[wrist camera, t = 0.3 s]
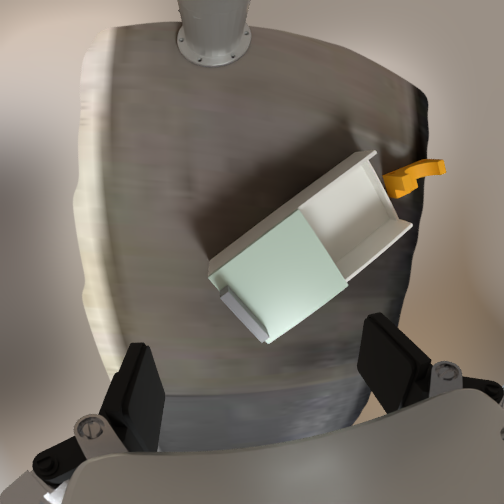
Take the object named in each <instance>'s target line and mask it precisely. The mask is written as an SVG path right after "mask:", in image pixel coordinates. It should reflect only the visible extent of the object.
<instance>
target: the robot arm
mask: <svg viewBox="0 0 504 504" xmlns="http://www.w3.org/2000/svg"><path fill="white" fill-rule="evenodd" d="M178 5H179V10H178V11H179V12H180V14H181V19H182V24H183V25H182V27H181V28H180V30H179V33H178V36H177V44H178V48H179V50H180V52H181V54H182V55H183V56H184V57H185V58H186V59H187V60H188V61H190V62H192V63H194V64H196V65H199V66H203V67H220V66H225V65H228V64H231V63H233V62H234V61H236V60H238V59H239V58H240V57H242V56H243V55H244V54H245V52H246V51H247V49H248V47H249V45H250V41H251V31H250V28H249V26H248V25H247V23H246V17H247V13H248V9H249V5H250V0H178ZM245 34H246V35H245ZM181 41H183V42H181ZM231 57H234V58H231ZM200 60H201V62H198V61H200ZM357 368H358V371H359V373H360V374H361V376H362V377H363V379H364V380H365V382H366V383H367V385H368V386H369V388H370V389H371V391H372V392H373V394H374V395H375V397H376V398H377V400H378V401H379V403H380V404H381V405H382V407H383V408H384V410H385V411H386V413H387V414H386V415H384V416H381V417H378V418H375V419H372V420H369V421H366V422H363V423H360V424H357V425H354V426H350V427H347V428H343V429H340V430H336V431H332V432H329V433H325V434H321V435H316V436H312V437H308V438H303V439H298V440H293V441H288V442H283V443H277V444H271V445H264V446H257V447H249V448H240V449H230V450H217V451H196V452H157V449H158V441H159V434H160V427H161V421H162V414H163V408H164V402H165V392H164V389H163V386H162V383H161V380H160V377H159V374H158V371H157V368H156V365H155V362H154V359H153V356H152V353H151V349H150V347H149V346H146V345H145V343H131V344H130V346H129V348H128V350H127V353H126V355H125V358H124V360H123V362H122V365H121V367H120V370H119V372H117V373H115V375H114V376H113V379H112V381H111V384H110V386H109V389H108V391H107V394H106V396H105V399H104V401H103V404H102V406H101V409H100V412H99V414H98V415H97V414H89V415H86V416H83V417H82V418H80V419H79V420H78V421H77V422H76V424H75V426H74V434H75V436H73V437H71V438H69V439H67V440H65V441H63V442H61V443H59V444H57V445H55V446H53V447H51V448H49V449H47V450H45V451H42V452H41V453H39V454H38V455H37V456H36V457H35V458H34V460H33V466H32V467H33V470H32V471H31V472H29V471H28V470H27V471H26V472H25V473H24V474H22V475H21V476H20V477H19V478H18V479H17V480H16V481H14V482H13V483H12V484H11V485H10V486H9V487H7V488H6V489H5V490H4V491H3V492H2V493H1V496H0V504H504V391H503V388H502V387H501V386H500V385H499V384H498V383H496V382H494V381H489V380H483V379H476V378H469V377H463V376H462V372H461V369H460V368H459V366H457V365H456V364H454V363H452V362H448V361H441V362H438V363H436V364H434V366H433V365H432V364H431V359H430V358H429V357H428V356H427V355H426V354H425V353H424V352H423V351H421V350H420V349H419V348H418V347H417V346H416V345H415V344H414V343H413V342H412V341H411V340H410V339H409V338H408V337H407V336H406V335H405V334H404V333H403V332H402V331H400V330H399V329H398V328H397V327H396V326H395V325H394V324H393V323H392V322H391V321H390V320H389V319H388V318H386V317H385V316H384V315H383V314H382V313H380V312H379V313H375V314H370V315H368V317H367V318H366V319H365V320H364V326H363V333H362V340H361V346H360V352H359V358H358V363H357Z"/></svg>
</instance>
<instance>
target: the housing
mask: <svg viewBox="0 0 504 504" xmlns="http://www.w3.org/2000/svg"><path fill="white" fill-rule="evenodd" d="M375 154H377V152H376V151H375V150H371V151H360V152H354V153H353V154H352V155H350V156H349V157H348V158H346V159H345V160H343V161H342V162H341V163H339V164H338V165H336V166H335V167H334V168H332V169H331V170H330V171H328V172H327V173H325V174H324V175H323V176H321V177H320V178H319V179H317V180H316V181H315V182H313V183H312V184H310V185H309V186H308V187H306V188H305V189H304V190H302V191H301V192H300V193H298V194H297V195H296V196H294V197H293V198H292V199H290V200H289V201H287V202H286V203H285V204H283V205H282V206H281V207H279V208H278V209H277V210H275V211H274V212H273V213H271V214H270V215H269V216H267V217H266V218H265V219H263V220H262V221H261V222H259V223H258V224H257V225H255V226H254V227H253V228H251V229H250V230H249V231H248V232H246V233H245V234H244V235H242V236H241V237H240V238H238V239H237V240H236V241H234V242H233V243H232V244H230V245H229V246H228V247H227V248H225V249H224V250H223V251H221V252H220V253H219V254H217V255H216V256H215V257H214V258H212V259H211V260H210V261H209V271H208V276H209V275H210V274H211V273H213V272H214V271H215V270H217V269H218V268H219V267H221V266H222V265H223V264H225V263H226V262H227V261H229V260H230V259H231V258H232V257H234V256H235V255H236V254H238V253H239V252H240V251H242V250H243V249H244V248H246V247H247V246H248V245H250V244H251V243H252V242H254V241H255V240H256V239H258V238H259V237H260V236H262V235H263V234H264V233H266V232H267V231H268V230H270V229H271V228H272V227H274V226H275V225H276V224H278V223H279V222H280V221H281V220H283V219H284V218H285V217H287V216H288V215H289V214H291V213H292V212H293V211H295V210H296V209H299V210H300V212H301V213H302V214H303V216H304V217H305V219H306V220H307V222H308V223H309V225H310V226H311V228H312V229H313V231H314V232H315V234H316V235H317V237H318V238H319V240H320V241H321V243H322V244H323V246H324V248H325V249H326V251H327V252H328V254H329V255H330V257H331V258H332V260H333V262H334V263H335V265H336V266H337V268H338V270H339V271H340V273H341V274H342V276H343V278H344V279H345V281H346V282H348V281H349V280H350V279H351V278H353V277H354V276H355V275H356V274H358V273H359V272H360V271H361V270H362V269H364V268H365V267H366V266H367V265H368V264H370V263H371V262H372V261H373V260H374V259H376V258H377V257H378V256H379V255H380V254H382V253H383V252H384V251H385V250H386V249H387V248H389V247H390V246H391V245H392V244H393V243H394V242H395V241H397V240H398V239H399V238H400V237H401V236H402V235H403V234H404V233H406V232H407V231H408V230H409V229H410V228H411V227H412V226H413V225H412V223H409V222H406V221H403V220H400V219H399V218H398V216H397V214H396V212H395V210H394V207H393V205H392V203H391V201H390V199H389V197H388V195H387V193H386V191H385V190H384V188H383V186H382V184H381V182H380V180H379V178H378V176H377V175H376V173H375V171H374V169H373V167H372V166H371V164H370V162H369V159H370V158H371V157H373V156H374V155H375Z"/></svg>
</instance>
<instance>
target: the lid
mask: <svg viewBox="0 0 504 504" xmlns="http://www.w3.org/2000/svg"><path fill="white" fill-rule="evenodd" d="M208 278H209V280H210V281H211V282H212V283H213V284H214V285H215V286H216V288H217V289H218V290H219V291H220V299H221V300H222V301H223V302H224V303H225V304H226V305H227V306H228V307H229V308H230V310H231V311H232V312H233V313H234V314H235V315H236V316H237V317H238V318H239V319H240V320H241V321H242V322H243V324H244V325H245V326H246V327H247V328H248V329H249V330H250V331H251V332H252V333H253V334H254V335H255V336H256V337H257V338H258V339H259V340H260V341H261V343H262V342H264V341H266V342H267V343H268V344H269V343H271V342H272V341H273V340H275V339H276V338H278V337H279V336H281V335H282V334H284V333H285V332H287V331H288V330H289V329H291V328H292V327H294V326H295V325H297V324H298V323H299V322H301V321H302V320H304V319H305V318H306V317H308V316H309V315H310V314H312V313H313V312H314V311H316V310H317V309H319V308H320V307H321V306H323V305H324V304H325V303H327V302H328V301H329V300H330V299H332V298H333V297H334V296H336V295H337V294H338V293H340V292H341V291H342V290H343V289H345V288H346V287H347V286H348V284H347V282H346V281H345V279H344V278H343V276H342V274H341V273H340V271H339V270H338V268H337V266H336V265H335V263H334V262H333V260H332V258H331V257H330V255H329V254H328V252H327V251H326V249H325V248H324V246H323V244H322V243H321V241H320V240H319V238H318V237H317V235H316V234H315V232H314V231H313V229H312V228H311V226H310V225H309V223H308V222H307V220H306V219H305V217H304V216H303V214H302V213H301V212H300V210H299V209H296V210H295V211H293V212H292V213H291V214H289V215H288V216H287V217H285V218H284V219H283V220H281V221H280V222H279V223H278V224H276V225H275V226H274V227H272V228H271V229H270V230H268V231H267V232H266V233H264V234H263V235H262V236H260V237H259V238H258V239H256V240H255V241H254V242H252V243H251V244H250V245H248V246H247V247H246V248H244V249H243V250H242V251H240V252H239V253H238V254H236V255H235V256H234V257H232V258H231V259H230V260H229V261H227V262H226V263H225V264H223V265H222V266H221V267H219V268H218V269H217V270H215V271H214V272H213V273H211V274H210V275H209V276H208Z"/></svg>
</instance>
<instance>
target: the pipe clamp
mask: <svg viewBox="0 0 504 504" xmlns="http://www.w3.org/2000/svg"><path fill="white" fill-rule="evenodd" d="M444 173H446V169H445V164H444V161H443V160H439V159H422V160H420V161H417V162H415V163H412V164H410V165H407V166H405V167H402V168H400V169H397V170H395V171H392V172H390V173H387V174H385V175H383V179H384V183H385V186H386V190H387V194H388V197H392V198H400V197H402V196H404V195H406V194H408V193H410V192H411V191H412V190H414V189H416V188H418V185H417V181H416V179H417V178H420V177H424V176H430V175H442V174H444Z"/></svg>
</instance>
